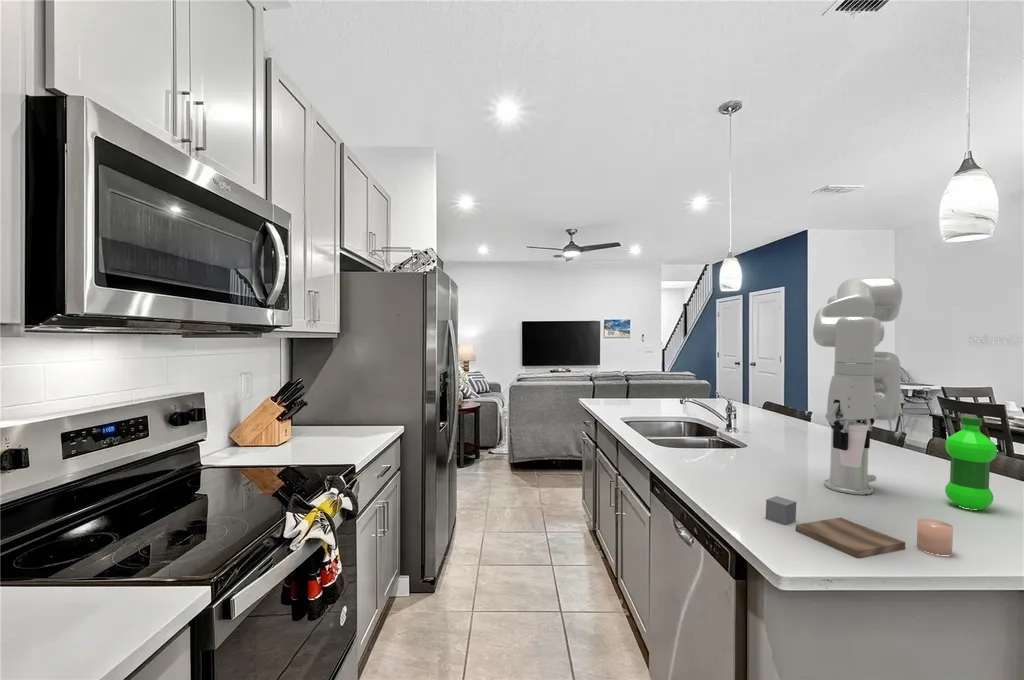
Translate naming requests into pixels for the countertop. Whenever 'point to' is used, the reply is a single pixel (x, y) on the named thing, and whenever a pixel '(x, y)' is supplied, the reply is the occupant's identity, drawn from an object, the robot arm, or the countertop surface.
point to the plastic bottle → (970, 466)
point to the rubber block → (781, 510)
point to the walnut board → (850, 537)
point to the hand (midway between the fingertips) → (851, 447)
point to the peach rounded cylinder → (934, 536)
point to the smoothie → (854, 444)
